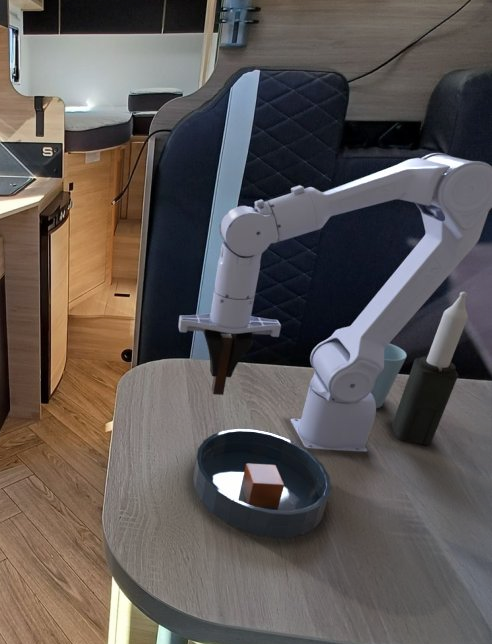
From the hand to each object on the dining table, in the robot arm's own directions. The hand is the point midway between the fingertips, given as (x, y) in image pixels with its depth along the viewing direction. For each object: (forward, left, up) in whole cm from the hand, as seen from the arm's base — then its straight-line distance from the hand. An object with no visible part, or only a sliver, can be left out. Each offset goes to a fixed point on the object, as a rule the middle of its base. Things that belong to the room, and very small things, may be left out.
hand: (220, 373), depth 81 cm
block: (-4, +16, -10) cm, 19 cm away
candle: (-33, -1, -11) cm, 34 cm away
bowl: (-4, +15, -10) cm, 18 cm away
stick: (0, 0, -3) cm, 3 cm away
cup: (-30, -11, -11) cm, 33 cm away
